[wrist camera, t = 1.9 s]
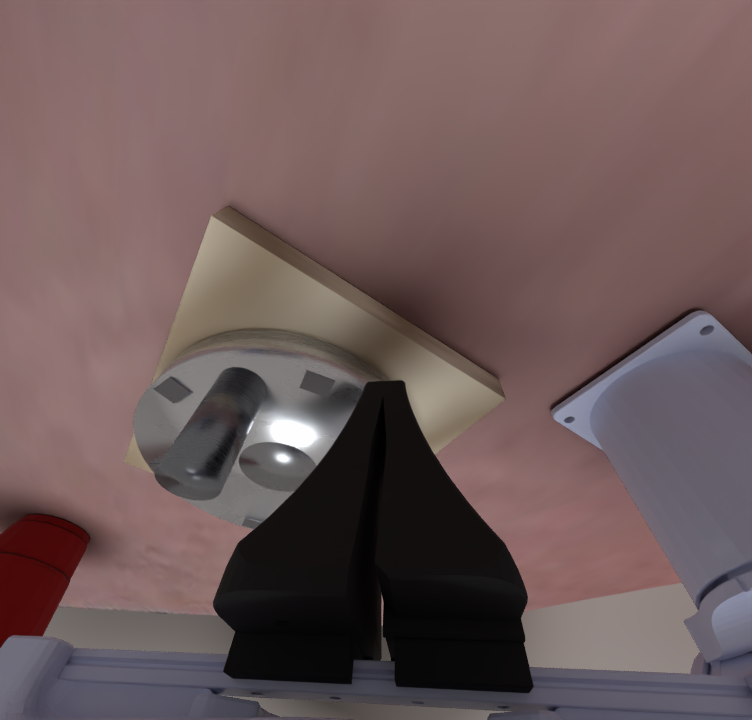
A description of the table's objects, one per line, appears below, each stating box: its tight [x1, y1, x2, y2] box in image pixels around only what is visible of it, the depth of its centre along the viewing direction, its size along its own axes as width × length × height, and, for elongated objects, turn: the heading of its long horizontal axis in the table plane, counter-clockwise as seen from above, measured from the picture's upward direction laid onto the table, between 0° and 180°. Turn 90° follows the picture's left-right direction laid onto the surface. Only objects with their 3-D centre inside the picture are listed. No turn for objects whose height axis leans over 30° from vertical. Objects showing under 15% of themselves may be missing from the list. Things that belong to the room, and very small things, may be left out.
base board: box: [124, 206, 506, 474], centre depth 20 cm, size 15×18×2 cm
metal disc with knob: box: [133, 330, 389, 529], centre depth 16 cm, size 14×14×6 cm
